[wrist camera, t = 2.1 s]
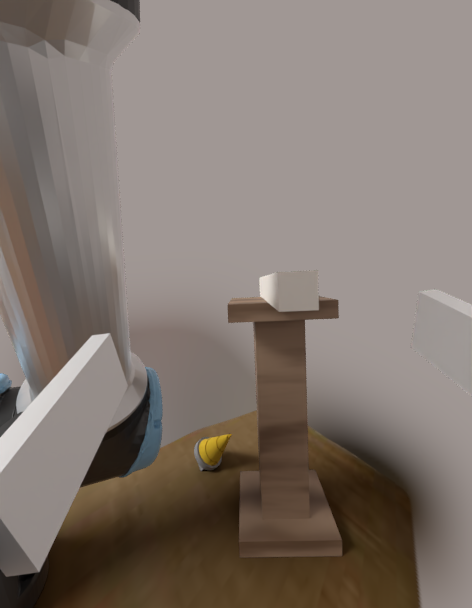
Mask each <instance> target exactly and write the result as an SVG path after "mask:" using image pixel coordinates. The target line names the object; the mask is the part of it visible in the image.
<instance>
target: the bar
mask: <svg viewBox="0 0 472 608" xmlns="http://www.w3.org/2000/svg"><path fill="white" fill-rule="evenodd" d="M260 296H261V297H262V298H263V299H264V300H265V301H267V302H268V303H269V304H270V305H271V306H273V307H274V308H275V309H276V310H277V311H279V312H287V311H311V310H319V295H318V270H314V271H293V272H277V273H274V274H270V275H267V276H263V277H260Z"/></svg>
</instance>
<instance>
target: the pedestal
mask: <svg viewBox="0 0 472 608" xmlns="http://www.w3.org/2000/svg"><path fill="white" fill-rule="evenodd" d="M332 318H339V316H338V300H336V299H331V298H325V297H320V296H319V310H311V311H287V312H279V311H277V310H276V309H275V308H274V307H273V306H271V305H270V304H269V303H268V302H267V301H265V300H264V299H263V298H262V297H250V298H232V299H231V301H230V302H229V303H228V322H229V323H233V322H253V325H254V351H255V375H256V399H257V425H258V449H259V471H240V510H239V554H240V557H316V556H342V539H341V536H340V533H339V531H338V528H337V526H336V523H335V520H334V518H333V515H332V512H331V510H330V507H329V505H328V502H327V499H326V497H325V494H324V491H323V489H322V486H321V484H320V481H319V478H318V476H317V473H316V471H315V470H309V467H308V428H307V389H306V351H305V320H308V319H332Z"/></svg>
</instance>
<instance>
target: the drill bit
mask: <svg viewBox="0 0 472 608" xmlns="http://www.w3.org/2000/svg"><path fill="white" fill-rule="evenodd" d="M231 435H232V434H227V435H223V436H218V437H213V438H209V437H203V438H202V439H200V440H199V441H198V442H197V443H196V445H195V448H194V454H195V458H196V460H197V462H198V464H199V467H200V470H201V471H202V470H203V469H205V470H213V469H215V468H216V467H218V466H219V465H220V463H221V459H222V454H223V452H224V450H225V448H226V445H227V443H228V441H229V439H230V437H231Z"/></svg>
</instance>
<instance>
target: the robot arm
mask: <svg viewBox="0 0 472 608" xmlns="http://www.w3.org/2000/svg"><path fill="white" fill-rule="evenodd" d="M139 34H140V2H139V0H0V316H1V318H2V321H3V323H4V325H5V328H6V330H7V333H8V335H9V338H10V340H11V342H12V345H13V347H14V350H15V352H16V355H17V357H18V360H19V362H20V364H21V367H22V369H23V372H24V374H25V377H26V380H25V381H24V382H23V384H22V386H21V387H13V388H12V387H10V386H11V384H12V381H11V380H9V378H8V376H7V375H5V374H2V373H0V608H33V606H34V605H35V603H36V601H37V599H38V598H39V596H40V594H41V592H42V589H43V587H44V585H45V582H46V579H47V575H48V570H49V559H48V553H49V551H50V548H51V546H52V544H53V542H54V540H55V538H56V536H57V534H58V532H59V530H60V528H61V525H62V523H63V521H64V519H65V517H66V515H67V513H68V511H69V509H70V507H71V504H72V502H73V500H74V498H75V496H76V494H77V492H78V490H79V488H80V487H84V486H87V485H91V484H94V483H98V482H101V481H105V480H108V479H112V478H115V477H126V476H127V475H130V474H131V473H132V472H134V471H137V470H140V469H143V468H146V467H148V466H149V465H151V464H152V463H153V462H154V460H155V459H156V457H157V455H158V452H159V449H160V445H161V437H162V423H161V420H162V395H161V388H160V383H159V378H158V375H157V373H156V371H155V370H154V369H152V368H146V367H145V366H144V364H143V362H142V361H141V360H140V358H139V357H138V356H137V355H135V354H134V353H133V352H131V350H130V337H129V323H128V308H127V293H126V278H125V265H124V264H125V263H124V249H123V234H122V219H121V205H120V191H119V176H118V162H117V147H116V132H115V117H114V103H113V89H112V75H111V73H112V68H113V64H114V62H115V61H116V59H117V58H118V57H119V56H120V55H121V54H122V53H123V51H124V50H125V49H126V48H127V47H128V46H129V45H130V44H131V43H132V41H133V40H134V39H135V38H136V37H137V36H138V35H139ZM411 348H412V349H413V350H415V351H416V352H417V353H418V354H420V355H421V356H422V357H423V358H425V359H426V360H427V361H428V362H430V363H431V364H432V365H433V366H435V367H436V368H437V369H438V370H439V371H441V372H442V373H443V374H445V375H446V376H447V377H448V378H449V379H451V380H452V381H453V382H454V383H456V384H457V385H458V386H459V387H461V388H462V389H463V390H465V391H466V392H467V393H468V394H469V395H471V396H472V305H471V304H469V303H467V302H465V301H462V300H460V299H458V298H456V297H453V296H451V295H449V294H446V293H444V292H442V291H440V290H437V289H434V290H426V291H419V293H418V300H417V308H416V314H415V322H414V328H413V335H412V343H411Z"/></svg>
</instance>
